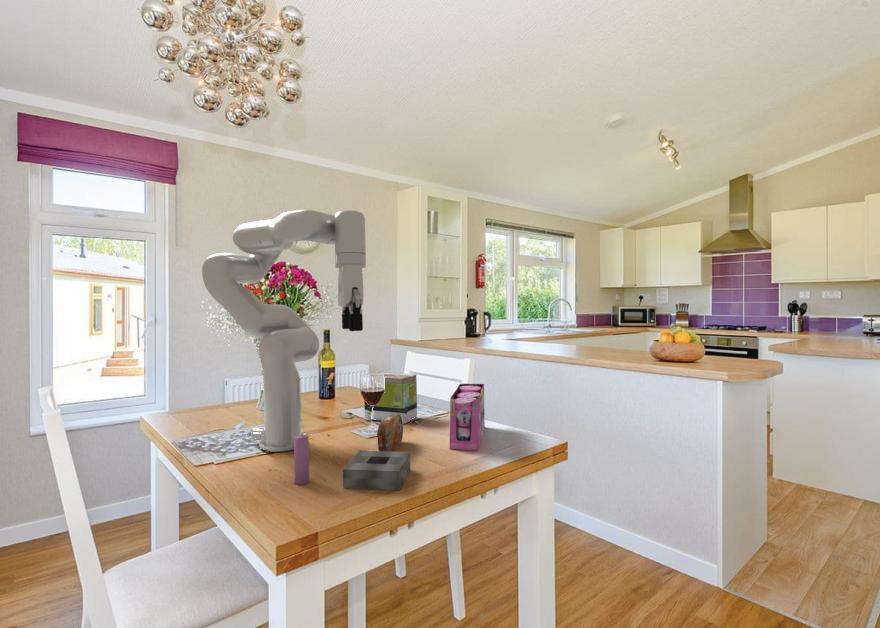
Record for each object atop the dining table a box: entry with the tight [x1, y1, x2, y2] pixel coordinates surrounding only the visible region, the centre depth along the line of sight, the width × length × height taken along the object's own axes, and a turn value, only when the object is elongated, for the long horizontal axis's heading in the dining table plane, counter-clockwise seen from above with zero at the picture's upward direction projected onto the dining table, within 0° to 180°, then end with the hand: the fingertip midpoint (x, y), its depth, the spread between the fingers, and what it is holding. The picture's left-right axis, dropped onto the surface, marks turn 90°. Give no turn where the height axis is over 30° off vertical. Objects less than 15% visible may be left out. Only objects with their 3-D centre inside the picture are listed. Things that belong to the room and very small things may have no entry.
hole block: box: [342, 449, 411, 491], centre depth 101 cm, size 12×12×4 cm
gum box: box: [449, 383, 486, 451], centre depth 130 cm, size 24×8×14 cm, turn 170°
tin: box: [376, 414, 404, 452], centre depth 121 cm, size 15×3×8 cm, turn 168°
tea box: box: [363, 372, 418, 425], centre depth 152 cm, size 15×10×15 cm, turn 66°
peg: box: [293, 434, 310, 486], centre depth 99 cm, size 3×3×10 cm
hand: (352, 329), depth 115 cm, fingers open, 9 cm apart
